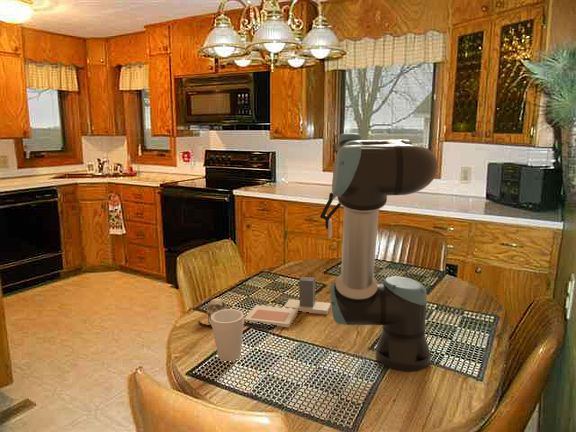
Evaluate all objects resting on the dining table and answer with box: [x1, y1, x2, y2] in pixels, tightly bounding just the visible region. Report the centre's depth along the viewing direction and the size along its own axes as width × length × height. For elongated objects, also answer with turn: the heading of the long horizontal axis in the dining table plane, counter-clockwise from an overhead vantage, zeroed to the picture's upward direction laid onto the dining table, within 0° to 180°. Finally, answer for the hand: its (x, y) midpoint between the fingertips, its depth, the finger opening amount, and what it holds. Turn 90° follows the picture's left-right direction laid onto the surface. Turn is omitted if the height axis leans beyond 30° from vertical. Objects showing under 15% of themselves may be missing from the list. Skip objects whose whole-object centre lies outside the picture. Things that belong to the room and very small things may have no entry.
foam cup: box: [211, 308, 245, 361], centre depth 126 cm, size 10×9×13 cm
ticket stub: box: [283, 276, 332, 316], centre depth 159 cm, size 7×16×12 cm, turn 74°
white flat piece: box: [244, 303, 299, 328], centre depth 153 cm, size 13×16×2 cm
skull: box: [201, 298, 228, 327], centre depth 152 cm, size 12×10×10 cm
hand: (348, 238), depth 154 cm, fingers open, 13 cm apart
